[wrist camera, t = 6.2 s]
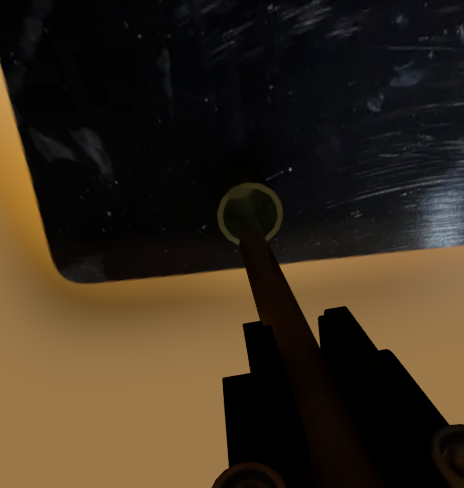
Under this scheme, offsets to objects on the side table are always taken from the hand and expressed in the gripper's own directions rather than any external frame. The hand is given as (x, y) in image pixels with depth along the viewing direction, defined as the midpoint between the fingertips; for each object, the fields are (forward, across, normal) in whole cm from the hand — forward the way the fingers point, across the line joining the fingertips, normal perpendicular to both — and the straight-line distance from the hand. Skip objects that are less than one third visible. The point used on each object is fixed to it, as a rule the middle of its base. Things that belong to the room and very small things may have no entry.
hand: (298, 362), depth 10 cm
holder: (+23, -1, 0) cm, 23 cm away
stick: (+11, 0, 0) cm, 11 cm away
